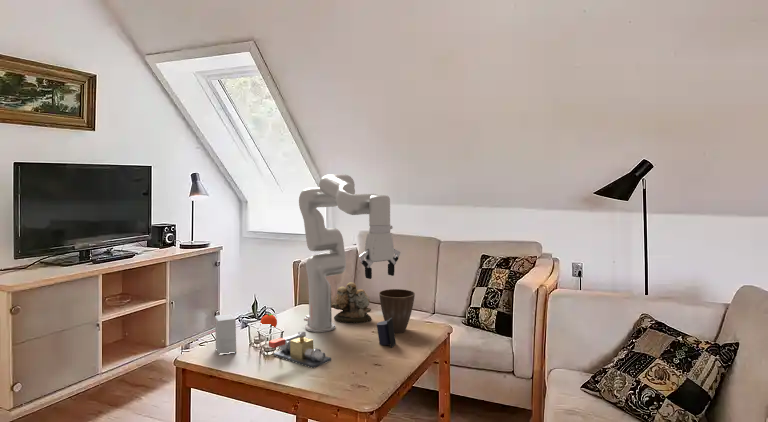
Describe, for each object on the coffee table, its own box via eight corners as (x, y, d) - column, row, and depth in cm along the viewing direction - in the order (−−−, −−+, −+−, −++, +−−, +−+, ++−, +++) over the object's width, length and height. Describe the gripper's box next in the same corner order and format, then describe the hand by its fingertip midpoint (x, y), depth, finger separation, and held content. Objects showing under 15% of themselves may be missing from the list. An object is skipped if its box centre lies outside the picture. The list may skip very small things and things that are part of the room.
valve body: (273, 355, 192) (273, 334, 192) (292, 349, 199) (291, 328, 199) (313, 368, 180) (312, 345, 179) (331, 360, 187) (330, 338, 187)
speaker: (400, 343, 204) (397, 317, 204) (391, 348, 200) (388, 321, 199) (385, 341, 209) (382, 315, 209) (376, 346, 205) (373, 319, 204)
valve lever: (268, 346, 179) (268, 341, 179) (301, 335, 191) (301, 330, 191) (274, 348, 177) (274, 342, 177) (307, 336, 189) (307, 331, 189)
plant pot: (414, 325, 229) (414, 289, 228) (415, 336, 214) (415, 297, 213) (379, 325, 230) (379, 288, 229) (378, 335, 215) (378, 297, 214)
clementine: (271, 326, 228) (270, 310, 227) (282, 329, 224) (282, 313, 224) (256, 331, 222) (256, 314, 221) (268, 334, 218) (268, 317, 217)
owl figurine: (330, 323, 233) (329, 285, 232) (333, 316, 245) (333, 279, 244) (370, 323, 232) (370, 285, 231) (372, 316, 244) (372, 279, 243)
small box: (236, 353, 195) (235, 318, 194) (218, 356, 192) (217, 321, 191) (232, 346, 202) (231, 313, 201) (215, 349, 199) (214, 315, 198)
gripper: (393, 227, 197) (393, 272, 199) (353, 230, 188) (354, 277, 189) (405, 229, 191) (405, 275, 192) (364, 232, 182) (365, 281, 183)
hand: (379, 276), depth 191 cm, fingers open, 9 cm apart
